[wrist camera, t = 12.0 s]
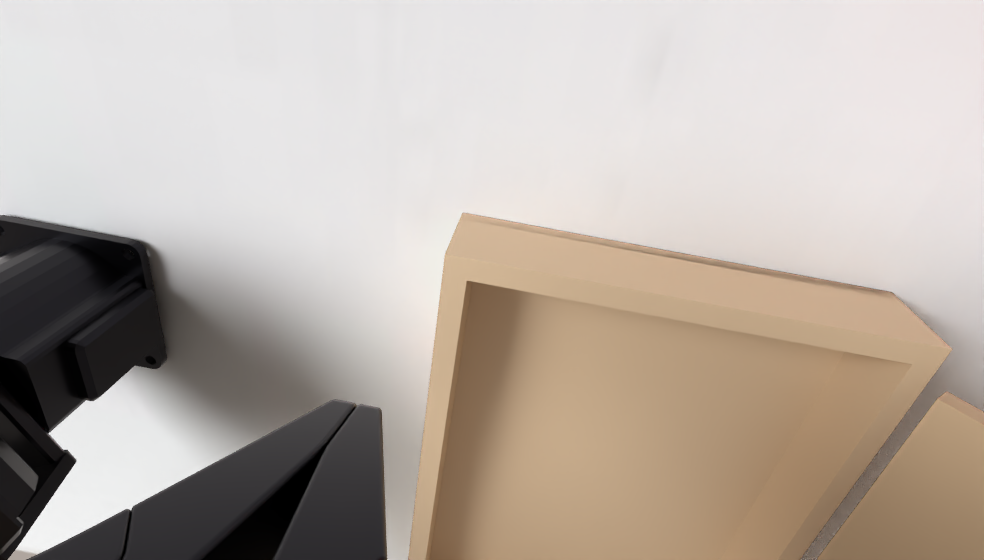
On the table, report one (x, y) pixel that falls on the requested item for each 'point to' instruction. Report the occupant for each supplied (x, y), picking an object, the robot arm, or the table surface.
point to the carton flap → (924, 494)
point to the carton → (649, 401)
